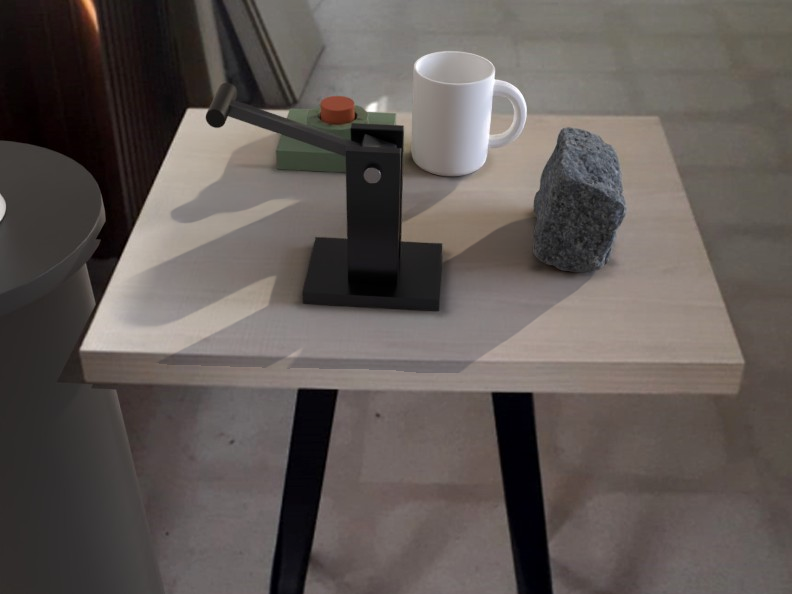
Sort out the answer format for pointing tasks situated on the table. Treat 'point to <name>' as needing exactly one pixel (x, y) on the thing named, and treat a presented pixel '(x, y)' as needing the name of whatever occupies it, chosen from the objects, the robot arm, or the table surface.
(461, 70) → the mug
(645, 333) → the table surface
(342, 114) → the stop button
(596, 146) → the stone
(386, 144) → the press lever
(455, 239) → the table surface
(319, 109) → the button block
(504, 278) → the table surface
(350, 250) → the lever bracket
